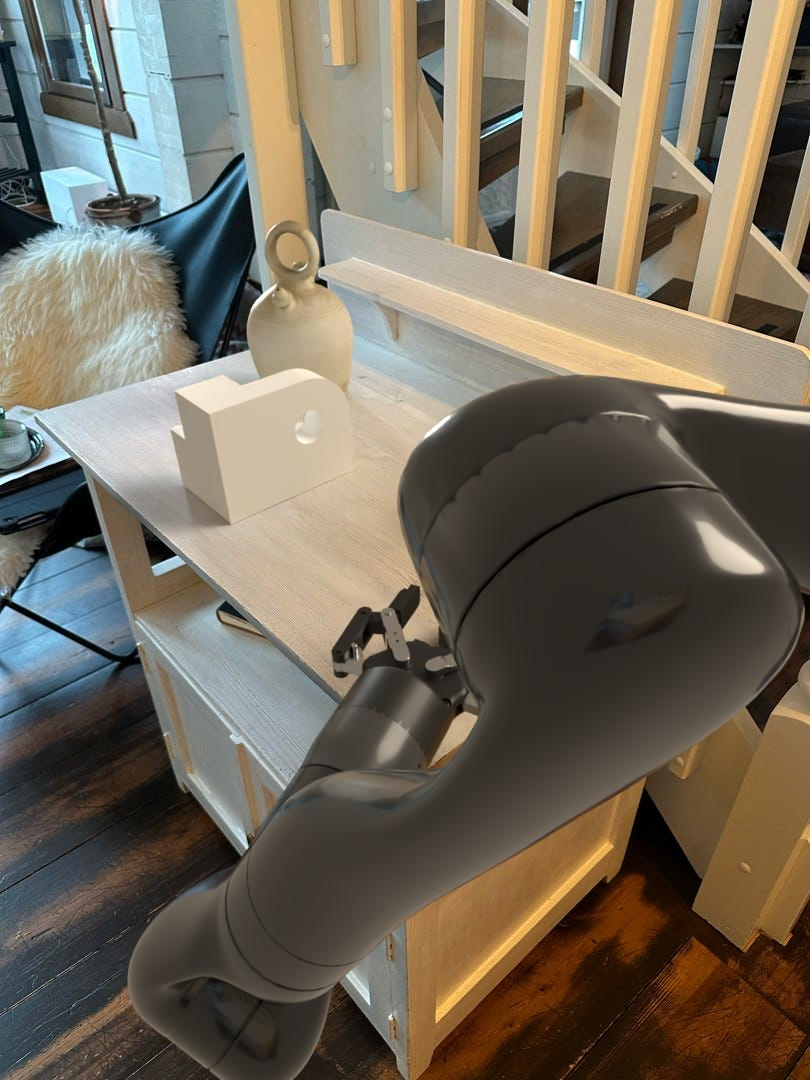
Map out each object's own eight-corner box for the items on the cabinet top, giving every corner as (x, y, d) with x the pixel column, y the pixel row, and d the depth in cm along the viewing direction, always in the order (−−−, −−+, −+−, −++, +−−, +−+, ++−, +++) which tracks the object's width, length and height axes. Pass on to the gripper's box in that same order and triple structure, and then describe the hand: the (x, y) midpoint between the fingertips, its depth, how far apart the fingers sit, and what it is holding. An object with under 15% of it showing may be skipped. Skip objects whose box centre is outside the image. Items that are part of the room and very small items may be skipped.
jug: (297, 366, 124) (277, 203, 110) (376, 384, 118) (367, 214, 103) (235, 403, 114) (205, 228, 99) (319, 425, 107) (299, 242, 92)
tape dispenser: (231, 524, 88) (209, 414, 80) (183, 485, 95) (158, 380, 87) (354, 469, 97) (345, 365, 89) (301, 437, 104) (289, 338, 96)
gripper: (473, 749, 47) (549, 592, 58) (278, 681, 52) (384, 549, 64) (471, 820, 51) (541, 662, 63) (292, 751, 56) (388, 616, 68)
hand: (462, 605), depth 63 cm, fingers open, 8 cm apart
